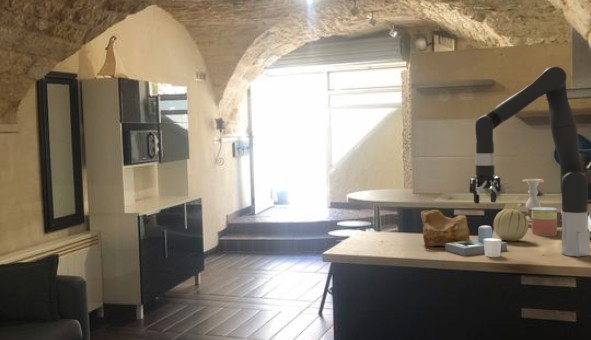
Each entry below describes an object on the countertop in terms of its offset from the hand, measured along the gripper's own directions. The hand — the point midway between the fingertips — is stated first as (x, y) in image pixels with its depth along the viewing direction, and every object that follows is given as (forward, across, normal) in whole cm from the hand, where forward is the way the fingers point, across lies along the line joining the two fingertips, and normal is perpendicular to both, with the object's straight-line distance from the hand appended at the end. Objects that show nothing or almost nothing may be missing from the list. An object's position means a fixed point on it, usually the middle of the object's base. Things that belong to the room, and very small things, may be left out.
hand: (485, 202), depth 250 cm
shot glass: (+20, -6, -11) cm, 24 cm away
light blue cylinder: (+20, 0, 0) cm, 20 cm away
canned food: (+20, +49, +16) cm, 55 cm away
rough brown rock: (+20, -11, +17) cm, 29 cm away
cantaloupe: (+20, +23, +10) cm, 32 cm away
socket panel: (+20, -5, 0) cm, 21 cm away
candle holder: (+20, +61, +35) cm, 73 cm away
